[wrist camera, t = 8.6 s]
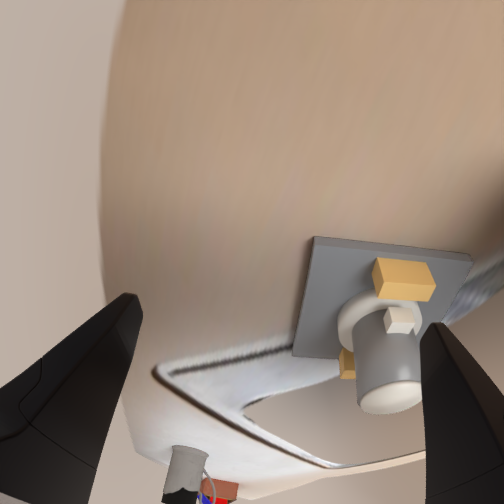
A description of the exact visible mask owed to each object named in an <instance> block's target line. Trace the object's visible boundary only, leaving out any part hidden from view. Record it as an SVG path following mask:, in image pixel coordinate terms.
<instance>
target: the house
mask: <svg viewBox="0 0 504 504" xmlns="http://www.w3.org/2000/svg"><path fill="white" fill-rule="evenodd" d="M211 480H212V481H213V483H214V486H215V491H216V500H215V504H229V503H231V502H233V501H235V500H236V496H237V490H238V483H232V482H227V481H221V480H216V479H211ZM199 491H200V492H201V493H202V503H203V504H212V502H213V489H212V485H211V483H210V481H209V479H208V478H207V477H206V478H205V479H204V480H203V481H201V485H200V490H199ZM199 496H200V494H199V492H198V496H197V498H198V499H199Z"/></svg>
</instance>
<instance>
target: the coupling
mask: <svg viewBox="0 0 504 504" xmlns="http://www.w3.org/2000/svg"><path fill="white" fill-rule="evenodd" d="M414 325H415V320H414V316H413V313H412V310H411V308H401V307H388V309H382V310H377V311H374V312H372V313H369V314H367V315H365V316H364V317H362V318H361V319H360V320H359V321H358V322H357V323H356V324H355V325H354V327H353V329H352V343H353V353H354V363H355V375H356V388H357V403H358V405H359V406H360V407H361V409H362V411H364V412H365V413H368V414H374V415H385V414H392V413H397V412H400V411H403V410H406V409H408V408H410V407H412V406H414V405H416V404H417V403H419V402H420V401H421V400H422V393H421V370H420V352H419V348H418V344H417V340H416V336H415V332H414V329H413V326H414Z"/></svg>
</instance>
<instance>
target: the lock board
mask: <svg viewBox="0 0 504 504" xmlns="http://www.w3.org/2000/svg"><path fill="white" fill-rule="evenodd" d="M473 263H474V261H473V260H472V258H471V256H470V255H469V254H463V253H455V252H448V251H440V250H432V249H423V248H415V247H407V246H398V245H390V244H381V243H372V242H363V241H354V240H345V239H336V238H326V237H316V236H314V241H313V246H312V252H311V258H310V263H309V268H308V274H307V279H306V284H305V289H304V294H303V299H302V304H301V309H300V314H299V319H298V323H297V328H296V333H295V337H294V342H293V346H292V356H295V357H309V358H324V359H339V366H340V378H341V379H356V375H355V363H354V353H353V343H352V329H353V327H354V325H355V324H356V323H357V322H358V321H359V320H360V319H361V318H362V317H364V316H365V315H367V314H369V313H372V312H374V311H377V310H382V309H388V307H401V308H411V310H412V313H413V316H414V320H415V325H414V326H413V329H414V332H415V336H416V340H417V344H418V348H419V352H420V340H421V337H422V336H423V334H424V333H425V331H426V329H427V328H428V326H429V325H430V324H431V323H432V322H441V321H442V319H443V317H444V316H445V314H446V312H447V311H448V309H449V307H450V306H451V304H452V302H453V300H454V299H455V297H456V295H457V293H458V292H459V290H460V288H461V286H462V284H463V283H464V281H465V279H466V277H467V275H468V273H469V271H470V269H471V267H472V265H473Z"/></svg>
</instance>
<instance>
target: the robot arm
mask: <svg viewBox="0 0 504 504" xmlns="http://www.w3.org/2000/svg"><path fill="white" fill-rule="evenodd" d="M142 319H143V311H142V308H141V305H140V302H139V299H138V296H137V295H136V294H132V293H123V294H121V295H120V296H119V297H117V298H116V299H115V300H113V301H112V302H111V303H109V304H108V305H107V306H106V307H104V308H103V309H102V310H100V311H99V312H98V313H96V314H95V315H94V316H93V317H91V318H90V319H89V320H87V321H86V322H85V323H84V324H82V325H81V326H80V327H78V328H77V329H76V330H75V331H73V332H72V333H71V334H70V335H68V336H67V337H66V338H65V339H63V340H62V341H61V342H60V343H58V344H57V345H56V346H55V347H53V348H52V349H51V350H50V351H48V352H47V353H46V354H45V355H44V356H43V357H42V358H40V359H39V360H38V361H36V362H35V363H34V364H32V365H31V366H30V367H29V368H28V369H26V370H25V371H24V372H22V373H21V374H20V375H18V376H17V377H15V378H14V379H13V380H12V381H10V382H9V383H7V384H6V385H4V386H3V387H1V388H0V504H88V501H89V497H90V493H91V489H92V486H93V482H94V478H95V475H96V471H97V467H98V463H99V460H100V457H101V453H102V450H103V446H104V443H105V440H106V437H107V433H108V430H109V427H110V424H111V421H112V418H113V414H114V411H115V408H116V405H117V402H118V399H119V397H120V394H121V391H122V388H123V385H124V382H125V379H126V376H127V374H128V371H129V368H130V365H131V362H132V359H133V355H134V351H135V347H136V343H137V339H138V335H139V331H140V327H141V323H142ZM420 370H421V393H422V403H423V414H424V427H425V445H426V499H425V504H504V396H503V395H502V393H501V392H500V391H499V389H498V388H497V386H496V385H495V384H494V383H493V381H492V380H491V379H490V377H489V376H488V375H487V374H486V372H485V371H484V370H483V369H482V368H481V366H480V365H479V364H478V363H477V361H476V360H475V359H474V358H473V357H472V355H471V354H470V353H469V352H468V351H467V349H466V348H465V347H464V346H463V345H462V344H461V342H460V341H459V340H458V339H457V338H456V337H455V336H454V334H453V333H452V332H451V331H450V330H449V329H448V328H447V326H446V325H445V324H444V323H441V322H432V323H431V324H430V325H429V326H428V328H427V329H426V331H425V333H424V334H423V336H422V337H421V340H420Z"/></svg>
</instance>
